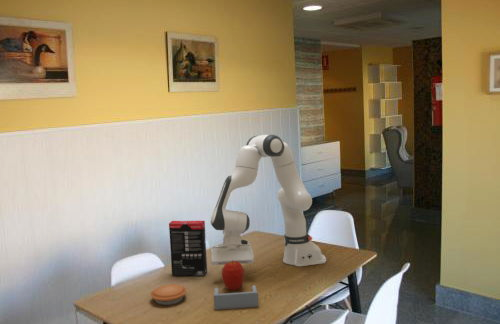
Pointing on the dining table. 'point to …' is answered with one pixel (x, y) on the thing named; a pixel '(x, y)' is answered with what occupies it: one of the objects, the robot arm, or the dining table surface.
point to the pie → (168, 294)
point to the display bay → (236, 299)
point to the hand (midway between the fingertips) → (233, 272)
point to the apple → (233, 275)
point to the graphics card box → (188, 248)
